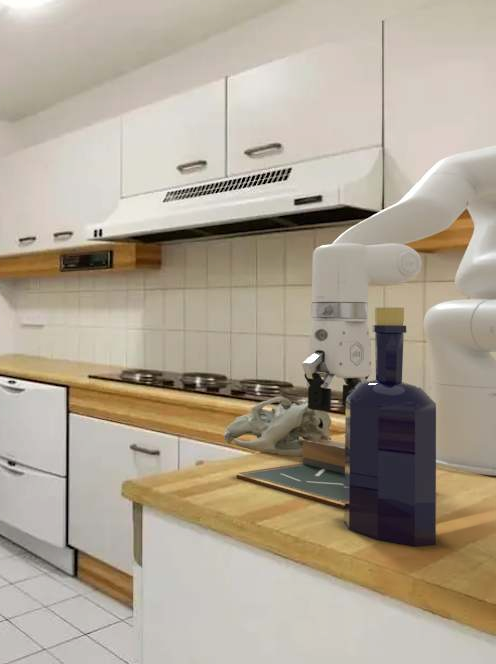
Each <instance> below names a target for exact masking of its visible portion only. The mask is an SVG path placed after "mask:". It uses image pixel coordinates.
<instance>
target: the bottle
mask: <svg viewBox="0 0 496 664" xmlns="http://www.w3.org/2000/svg"><path fill="white" fill-rule="evenodd" d="M404 321H405V307H374V324H372V331H371V332H372V333H374V351H375V353H374V354H375V379H374V380H373V379H372V380H367V381H366V382H359V383H358V384H357V385H356V386H355V387H354V388H353V389H352V390H350V391H349V392H348V393H347V394H346V407H345V427H344V428H345V429H344V430H345V433H344V436H345V437H344V438H345V440H344V443H345V500H344V501H345V503H344V505H345V510H344V520H343V523H344V526H345V527H346V528H347V530H350V531H351V532H352V531H353V532H354V533H358V534H360V535H363V536H366V537H368V538H371V539H374V540H377V541H382V542H387V543H393V544H399V545H405V546H410V547H424V546H435V545H438V543H437V539H436V538H437V466H436V403H435V402H434V401H433V400H432V399H431V396H429V395H428V393H426V391H424V390H423V388H421V387H419V386H417V385H414V384H411V383H407V382H403V362H404V360H403V359H404V339H405V338H404V337H405V335H404V334H406V333H407V325H404Z"/></svg>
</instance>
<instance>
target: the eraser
mask: <svg viewBox="0 0 496 664" xmlns="http://www.w3.org/2000/svg"><path fill="white" fill-rule="evenodd" d="M302 441H303V456H302V463H303V464H305V465H309V466H313V467H317V468H321V469H326V470H330V471H334V472H338V473H342V474H345V442H339V441H334V440H324V439H319V438H318V439H307V440H304V439H303V440H302Z"/></svg>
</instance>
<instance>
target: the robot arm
mask: <svg viewBox="0 0 496 664" xmlns="http://www.w3.org/2000/svg"><path fill="white" fill-rule="evenodd" d="M466 210H467V211H468V213H469V216H470V218H471V220H472V223H473V232H472V235H471V239H470V241H469V242H468V246H467V248H466V250H465V251H464V254H463V256H462V259H461V261H460V263H459V266H458V267H457V268H458V269H457V271H456V274H455V277H454V287H455V289H456V291H457V292H458V293H459V294H461V295H462V296H464V297H467V298H470V299H453V300H447V301H442V302H439V303H437V304H435V305H433V306H431V307H430V308H429V309H428V310H427V311H426V313H425V314H424V317H423V321H422V322H423V323H422V324H423V332H424V335H425V339H426V343H427V347H428V353H429V363H430V398H431V399H432V400H433V401H434V402H435V403H436V467H439V468H444V469H449V470H454V471H460V472H463V473H469V474H475V475H481V476H490V477H491V476H492V477H493V476H494V477H496V358H495V357H494V356H493V355H492V353H493V352H494V353H496V144H495V145H490V146H486V147H481V148H477V149H472V150H467V151H463V152H459V153H455V154H451V155H448V156H447V157H444V158H442V159H440V160H438V161H437V162H436V163H434V164H433V165H432V167H430V168H429V170H427V172H426V173H425V174H424V175H423V176H422V177H420V179H419V180H418V181H417V182H416V183H415V184H414V185H413V186H412V187H411V188H410V190H408V191H407V192H406V193H405V194H404V195H403V196H402V197H401V198H400V199H399V200H398V202H396V203H394V204H393V205H390V206H388V207H386V208H384V209H382V210H380V211H378V212H377V213H374V214H373V215H371V216H369V217H368V218H365V219H364V220H361V221H360V222H358V223H356V224H355V225H353V226H351V227H350V228H348V229H347V230H345V231H344V232H343V233H341V234H340V235H339V236H338V237H337V238H336V239H335V240H334V241H333V242H332V243H331V244H330V243H329V244H323V245H320V246H317V247H316V248H314V250H313V252H312V267H311V269H312V271H311V278H312V279H311V313H310V314H311V315H310V319H311V322H312V323H311V328H310V333H309V334H310V335H309V342H308V352H307V353H308V354H307V355H308V357H307V358H306V359H305V360H304V361H303V362H302V364H301V365H302V369H303V372H304V375H303V376H304V379H305V380H306V386H307V387H308V389H307V392H308V393H307V402H308V408H309V409H313V410H319V411H326V412H327V413H328V412H331V410H332V409H331V407H332V388H329V386H330V384H331V382H333V381H332V380H333V379H334V377H336V378H339V379H343V381H344V382H345V384H342V406H343V407H344V408H346V394H347V393H348V392H349V391H350V390H352V389H353V388H354V387H355V386H356V385H357V384H358V383H359V382H366V381H368V378H369V377H370V375H371V374H372V347H371V345H372V344H371V337H370V330H369V325H368V311H369V310H368V309H369V308H368V307H369V305H368V303H369V300H368V299H369V287H392V286H399V285H403V284H406V283H408V282H410V281H412V280H413V279H415V278H416V277H417V276H418V275H419V273H420V271H421V270H422V265H423V263H422V257H421V256H420V254H419V253H418V251H416V249H414V248H413V247H411V246H409V245H406V244H410V243H413V242H417V241H420V240H423V239H426V238H429V237H431V236H434V235H437V234H439V233H441V232H444V231H445V230H447V229H448V228H449V227H451V226H452V225H453V224H454V222H455V221H456V220H457V219H458V218H459V217H460V216H461V215H462V214H463V212H465V211H466Z"/></svg>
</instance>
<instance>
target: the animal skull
mask: <svg viewBox="0 0 496 664" xmlns="http://www.w3.org/2000/svg"><path fill="white" fill-rule="evenodd" d="M278 402H280V403H278ZM297 402H298V404H299V405H298V404H297V403H292V401H291V400H289V399H288V398H286V397H282V396H276V397H273V398H271V399H268V400H264V401H260V403H257V404H255V405H253V406H251V407H250V409H251V412H249V413H247V414H242V415H240V416H237V417H235V418H234V419H233V421H232V422H231V423H229V424H228V425H227V426H226V428H225V429H224V431H223V439H224V440H225V441H226V443H227V444H228V445H231V444H232V441H233V442H234V444H235V445H236V446H239V447H240V448H244V449H248V450H250V451H255V452H258V453H259V452H260V453H265V452H266V453H265V454H271V455H282V456H293V457H294V456H298V457H303V440H307V439H318V438H319V439H324V440H329V441H332V437H331V436H330V433H329V430H330V427H331V424H332V419H331V416H330V415H329V413H328V412H326V411H319V410H313V409H309V408H308V400H305V401H304V400H298V401H297ZM273 403H278V405H277V406H276V407H272V408H271V410H270V409H269V410H268V409H264V407H266V406H269V405H270V404H273ZM247 435H248V436H249V435H250V436H255V437H256V438H257V439H252V440H248V441H245V440H242V439H238V438H239V437H242V436H247ZM302 439H303V440H302Z"/></svg>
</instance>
